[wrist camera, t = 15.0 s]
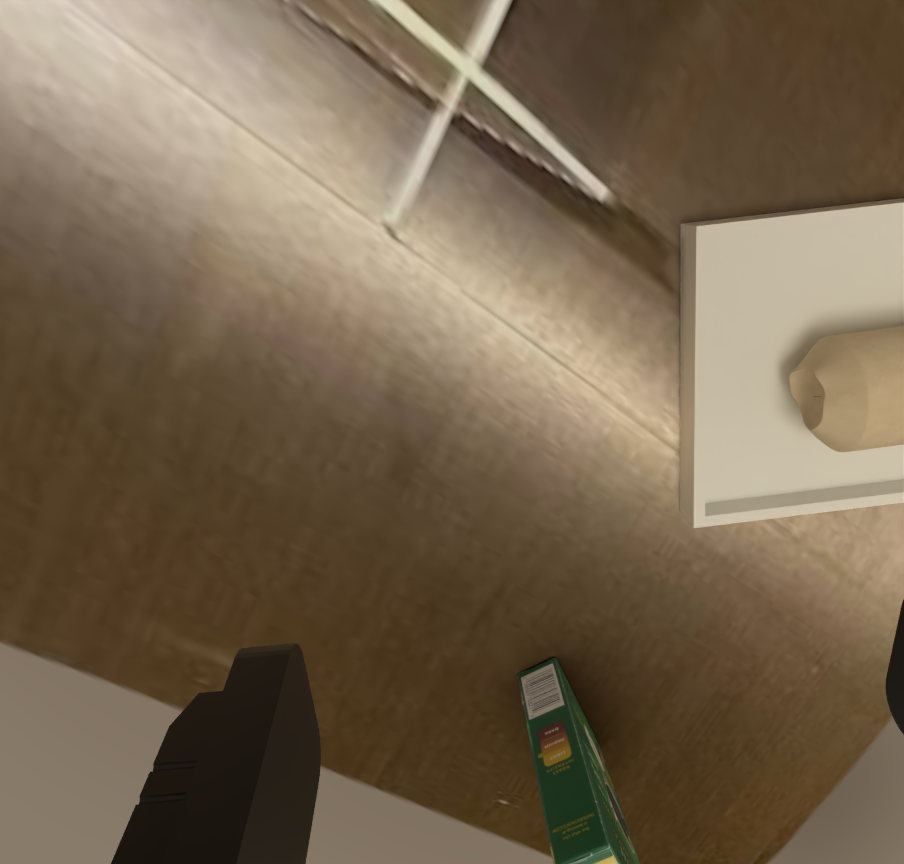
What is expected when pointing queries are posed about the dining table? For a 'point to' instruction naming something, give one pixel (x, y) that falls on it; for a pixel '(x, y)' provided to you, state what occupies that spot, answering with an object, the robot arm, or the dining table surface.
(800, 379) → the candle
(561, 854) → the coffee box
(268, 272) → the dining table surface
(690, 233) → the tray
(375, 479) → the dining table surface
